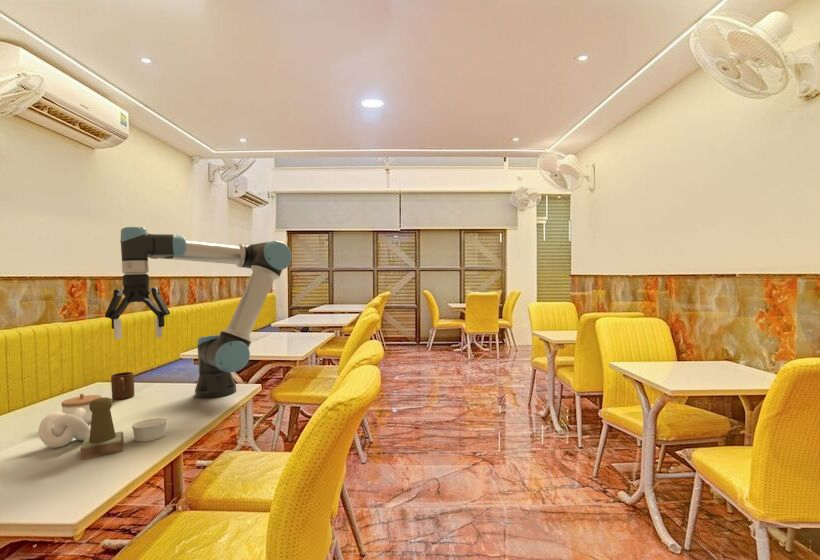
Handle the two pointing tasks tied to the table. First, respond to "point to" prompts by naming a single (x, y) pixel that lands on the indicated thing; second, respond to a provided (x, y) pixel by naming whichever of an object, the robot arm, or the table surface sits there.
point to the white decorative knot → (63, 428)
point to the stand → (102, 446)
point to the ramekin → (149, 429)
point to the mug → (122, 385)
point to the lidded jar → (79, 405)
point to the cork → (101, 420)
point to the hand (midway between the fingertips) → (138, 337)
